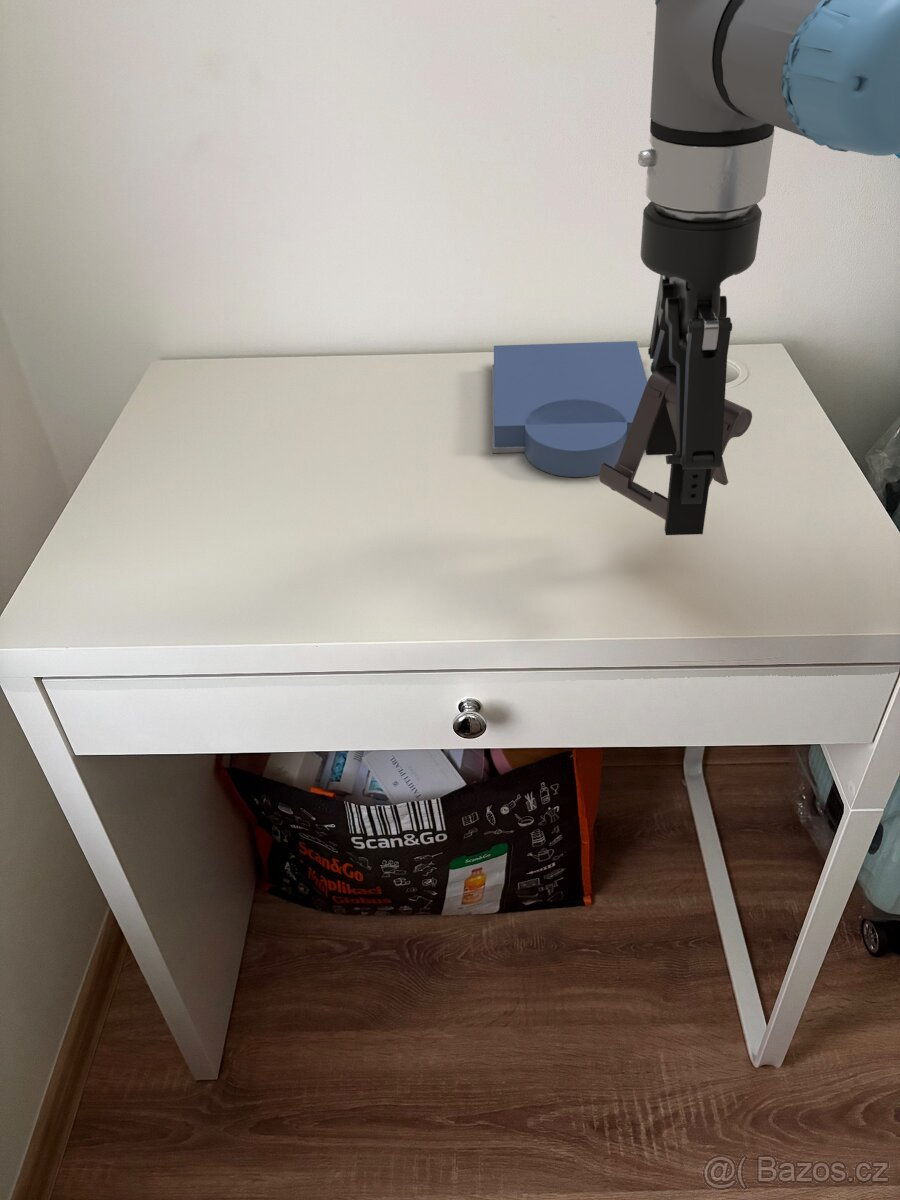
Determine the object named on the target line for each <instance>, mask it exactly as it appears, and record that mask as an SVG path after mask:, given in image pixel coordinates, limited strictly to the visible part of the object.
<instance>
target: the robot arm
mask: <svg viewBox="0 0 900 1200" xmlns="http://www.w3.org/2000/svg"><path fill="white" fill-rule="evenodd" d="M654 1H655V3H654V4H655V24H654V25H655V27H654V45H653V62H652V77H651V78H652V81H651V96H650V113H649V114H650V125H649V126H650V127H649V132H650V133H649V138H648V139H649V140H648V141H649V144H650V145H651V146H650V148H648V149H645V150H641V151H640V152H639V153H638V157H637V158H638V160H637V164H638V166H640V167H644V168H647V169H646V178H645V179H646V181H645V196H646V197H647V199H648V200H649V201H650V202H649V203H648V204H647V205H646V206H645V207H644V209H643V211H642V227H641V238H640V240H641V241H640V259H641V261H642V263H643V265H644V266H645V267H646V268H647V269H649V270H650V271H652V272H653V273H656V274H658V275H660V276H659V282H658V290H657V296H656V301H655V302H656V303H655V309H654V314H653V315H654V316H653V323H652V329H651V335H650V343H649V347H648V349H647V355H649V359H650V360H652V362H651V365H650V373H651V375H652V374H653V373H654V372H655V371H657V370H663V371H665V372H667V373H669V374H671V375H674V376H676V387H677V442H676V439H675V435H674V431H673V428H672V424H671V421H670V417H669V414H668V410H667V406H666V405H664V406H663V407H662V408H661V410H660V412H659V414H658V417H657V419H656V422H655V425H654V427H653V430H652V432H651V435H650V438H649V440H648V443H647V446H646V449H645V451H644V452H645V455H646V456H663V455H665V463H666V465H670V472H669V481H668V482H669V483H668V491H667V498H668V500H667V510H666V520H664V533H665V536H689V535H692V536H693V535H696V536H697V535H703V534H704V527H705V521H706V512H707V505H708V499H709V490H710V486H709V484H710V476H711V469H712V468H720V467H721V465H722V464H721V463H722V461H723V462H724V458H723V455H722V442H723V424H724V406H725V399H726V387H727V369H728V355H729V347H730V340H731V334H732V333H731V332H732V331H733V323H732V319H731V317H730V316H728V300H727V299H728V298H727V296H726V295H721V293H722V292H721V284H722V283H723V282H724V281H725V280H727V279H728V278H730V277H733V276H737V275H739V274H741V273H744V272H745V271H747V270H748V269H749V268H750V267H751V266H752V265H753V264H754V262H755V261H756V256H757V249H758V242H759V237H760V236H759V235H760V230H761V229H760V228H761V221H762V214H763V213H762V210H761V209H762V208H760V207H759V203H760V202H761V201H762V200H763V199H764V198H765V197H766V195H767V194H766V193H767V188H768V186H767V185H768V179H769V173H770V166H771V159H772V158H771V157H772V151H773V144H774V136H775V128H779V129H782V130H785V131H787V132H789V133H793V134H794V135H795V134H796V135H797V136H801V137H804V138H806V139H808V140H811V141H813V142H814V143H815V144H816V145H818V146H819V147H821V146H826V147H827V149H830V150H831V151H838V152H845V153H847V152H852V153H853V152H854V153H859V154H864V155H867V156H875V157H882V156H885V157H887V156H893V155H896V154H900V0H654ZM710 485H711V484H710Z"/></svg>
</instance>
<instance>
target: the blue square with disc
mask: <svg viewBox="0 0 900 1200" xmlns="http://www.w3.org/2000/svg"><path fill="white" fill-rule="evenodd" d="M491 367H492V369H491V371H492V372H491V373H492V381H491V382H492V386H491V387H492V388H491V389H492V393H491V394H492V397H491V398H492V399H491V400H492V401H491V402H492V404H491V405H492V453H493V454H505V453H506V454H509V453H511V454H512V453H524V455H525V457H526V459H527V460H528V462H529V463H530V464H531V465H532V466H534V467H535V468H537V469H539V470H540V471H543V472H545V473H547V474H550V475H554V476H559V477H566V478H586V477H594V476H597V475H600V470H601V464H603V463H606V464H608V465H610V466H612V467H613V468H614V467H615V465H616V464H617V462H618V460H619V457H620V454H621V452H622V449H623V446H624V443H625V441H626V438H627V435H628V433H629V430H630V427H631V425H632V422H633V419H634V416H635V414H636V411H637V408H638V406H639V403H640V400H641V398H642V395H643V392H644V390H645V387H646V384H647V382H648V378H647V375H646V371H645V368H644V363H643V360H642V356H641V352H640V349H639V344H638V341H637V340H630V341H629V340H627V341H597V342H596V341H595V342H567V343H566V342H565V343H564V342H563V343H562V342H561V343H535V344H534V343H533V344H530V343H529V344H503V345H502V344H501V345H500V344H499V345H493V364H492V366H491ZM645 450H646V448H645Z"/></svg>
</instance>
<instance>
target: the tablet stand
mask: <svg viewBox="0 0 900 1200" xmlns="http://www.w3.org/2000/svg"><path fill="white" fill-rule="evenodd" d="M664 405H666V406H667V410H668V414H669V417H670V421H671V424H672V428H673V431H674V435H675V439H676V442H677V387H676V376H674V375H671V374H669V373H667V372H665V371H663V370H657V371H655V372H654V373H653V374H652V373H651V374H650V376H649V378H647V384H646V387H645V390H644V392H643V395H642V398H641V400H640V403H639V406H638V408H637V411H636V414H635V416H634V419H633V422H632V425H631V427H630V430H629V433H628V435H627V438H626V441H625V443H624V446H623V449H622V452H621V454H620V457H619V460H618V462H617V464H616V465H615V467H614V468H613V467H612V466H610V465H608V464H606V463H603V464H601V470H600V474H599V477H598V479H599V482H600V483H601V484H602V485H605V486H606V487H608V488H610V490H612V491H613V492H616V493H618V494H620V495H621V496H623V497H625V498H626V499H629V500H630V501H632V502H633V503H635V504H637V505H639V506H640V507H642V508H643V509H645V510H647V511H649V512H650V513H652V514H654V515H656V516H658V517H659V518H661V519H662V520H664V521H665V520H666V510H667V500H668V497H667V496H665V495H663V494H661V493H659V492H657V491H651V490H650V489H648V488H646V487H644V486H643V485H641V484H639V483H637V482H635V481H634V480H635V477H636V475H637V472H638V470H639V467H640V464H641V462H642V458H643V456H644V453H645V452H646V451H645V450H646V449H645V448H646V446H647V443H648V440H649V438H650V435H651V432H652V430H653V427H654V425H655V422H656V419H657V417H658V414H659V412H660V410H661V408H662V407H663V406H664ZM752 420H753V413H752V411H751V410H750V409H749V408H746V407H744V406H742V405H739V404H738V403H735V402H733V401H730V400H729V399H726V398H725V406H724V424H723V442H722V456H723V455H724V453H725V450H726V448H727V446H728V444H729V442H730V441H731V439H733V438H739V437H742V436H743V435H745V433H746V432H747V431H748V429H749V428H750V426H751V423H752ZM721 464H722V465H721V467H720V468H712V469H711V476H710V484H709V487H711V484H712V481H715V482H716V483H719V484H720V485H722V486H727V485H728V484H729V480H728V475H727V471H726V467H725V462H724V460H723V461H722V463H721Z"/></svg>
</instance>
